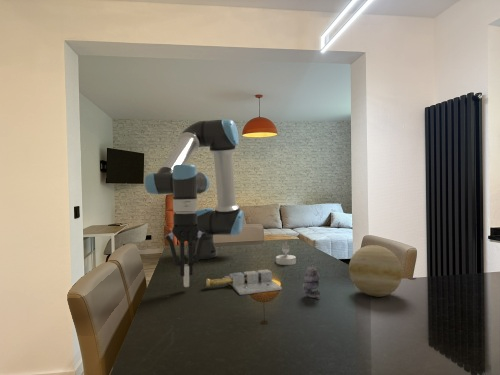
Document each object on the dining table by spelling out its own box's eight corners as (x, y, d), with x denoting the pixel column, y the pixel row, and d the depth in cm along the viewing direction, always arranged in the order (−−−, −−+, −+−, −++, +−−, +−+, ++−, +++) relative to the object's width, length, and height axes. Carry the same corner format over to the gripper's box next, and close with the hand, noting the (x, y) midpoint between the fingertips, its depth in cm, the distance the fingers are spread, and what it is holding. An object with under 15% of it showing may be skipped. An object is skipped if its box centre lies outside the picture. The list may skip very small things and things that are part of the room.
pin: (206, 286, 107) (206, 277, 107) (251, 280, 112) (251, 272, 112) (207, 288, 104) (207, 279, 104) (253, 283, 109) (253, 274, 109)
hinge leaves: (224, 278, 117) (224, 268, 117) (260, 274, 122) (259, 264, 122) (240, 295, 99) (239, 282, 99) (281, 289, 103) (281, 277, 103)
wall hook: (275, 243, 135) (275, 239, 145) (275, 265, 135) (276, 260, 145) (296, 243, 135) (295, 239, 144) (296, 265, 134) (295, 260, 144)
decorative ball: (347, 300, 93) (346, 248, 93) (351, 285, 106) (350, 240, 106) (404, 307, 87) (403, 251, 87) (401, 290, 101) (400, 242, 101)
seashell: (321, 295, 97) (320, 262, 97) (319, 301, 92) (318, 267, 92) (303, 294, 99) (303, 261, 99) (300, 300, 94) (300, 265, 94)
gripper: (165, 214, 98) (166, 291, 98) (207, 212, 102) (208, 286, 102) (163, 212, 105) (164, 284, 105) (203, 210, 109) (204, 280, 109)
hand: (186, 285), depth 103 cm, fingers closed
